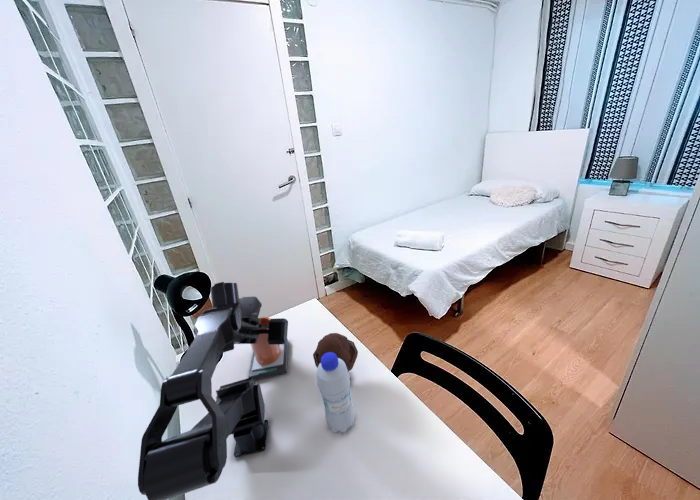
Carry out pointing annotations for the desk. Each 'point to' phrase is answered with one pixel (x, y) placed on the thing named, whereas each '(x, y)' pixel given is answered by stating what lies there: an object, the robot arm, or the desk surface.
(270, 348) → the tumbler
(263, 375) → the scale
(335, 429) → the bottle
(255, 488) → the desk surface
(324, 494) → the desk surface
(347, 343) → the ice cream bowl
